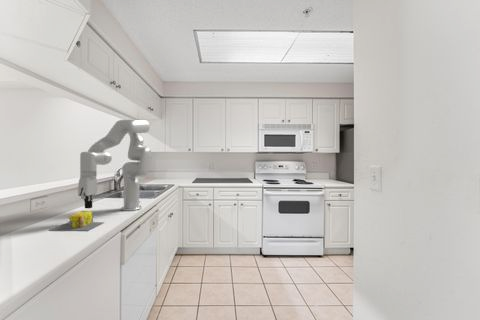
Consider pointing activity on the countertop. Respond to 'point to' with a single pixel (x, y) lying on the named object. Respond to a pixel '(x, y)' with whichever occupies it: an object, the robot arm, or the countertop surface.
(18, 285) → the countertop surface
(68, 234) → the countertop surface
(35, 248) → the countertop surface
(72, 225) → the supplement box
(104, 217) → the countertop surface
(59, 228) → the topple mat
